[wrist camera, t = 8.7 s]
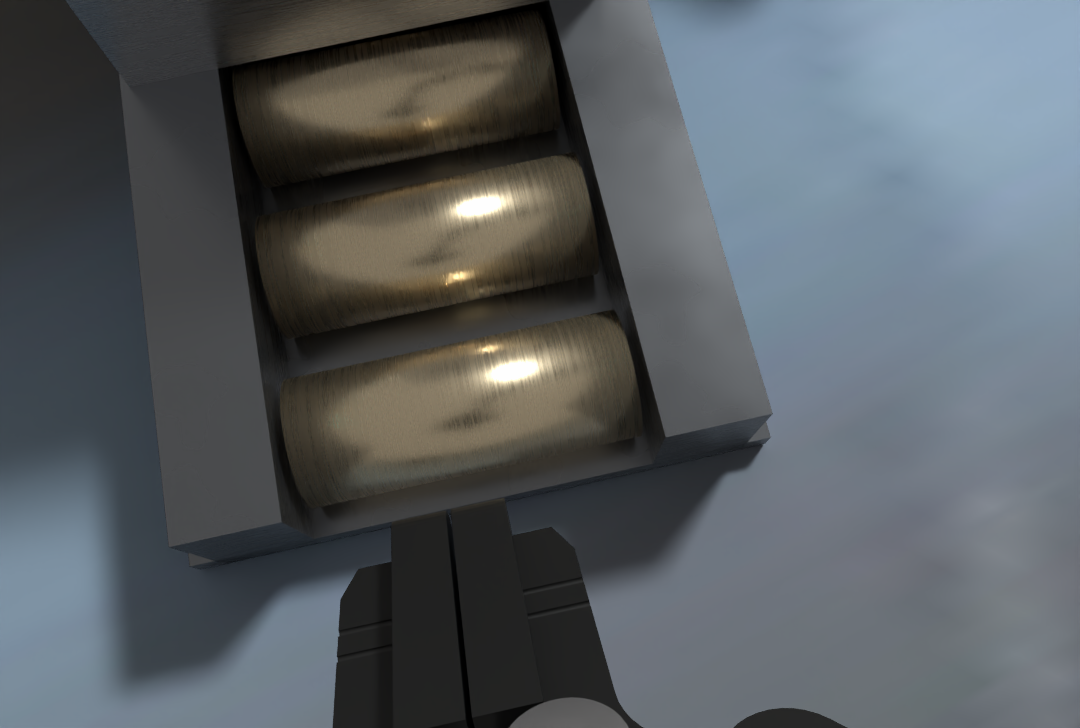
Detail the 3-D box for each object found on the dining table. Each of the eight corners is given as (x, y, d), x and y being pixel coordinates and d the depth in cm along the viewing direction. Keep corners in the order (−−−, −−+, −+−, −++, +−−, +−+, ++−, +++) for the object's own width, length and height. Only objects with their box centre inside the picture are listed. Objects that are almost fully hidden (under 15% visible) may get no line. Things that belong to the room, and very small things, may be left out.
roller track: (764, 443, 20) (799, 407, 18) (199, 569, 20) (140, 553, 17) (543, -300, 27) (542, -416, 24) (109, -223, 26) (54, -332, 23)
